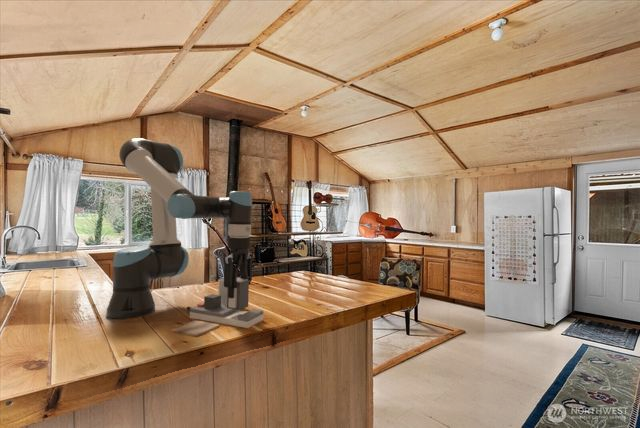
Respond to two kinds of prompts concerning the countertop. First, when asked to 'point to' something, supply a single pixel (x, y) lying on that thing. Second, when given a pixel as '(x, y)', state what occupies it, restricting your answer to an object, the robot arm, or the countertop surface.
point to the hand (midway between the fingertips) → (237, 304)
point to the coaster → (195, 328)
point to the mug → (222, 291)
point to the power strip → (224, 313)
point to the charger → (241, 294)
